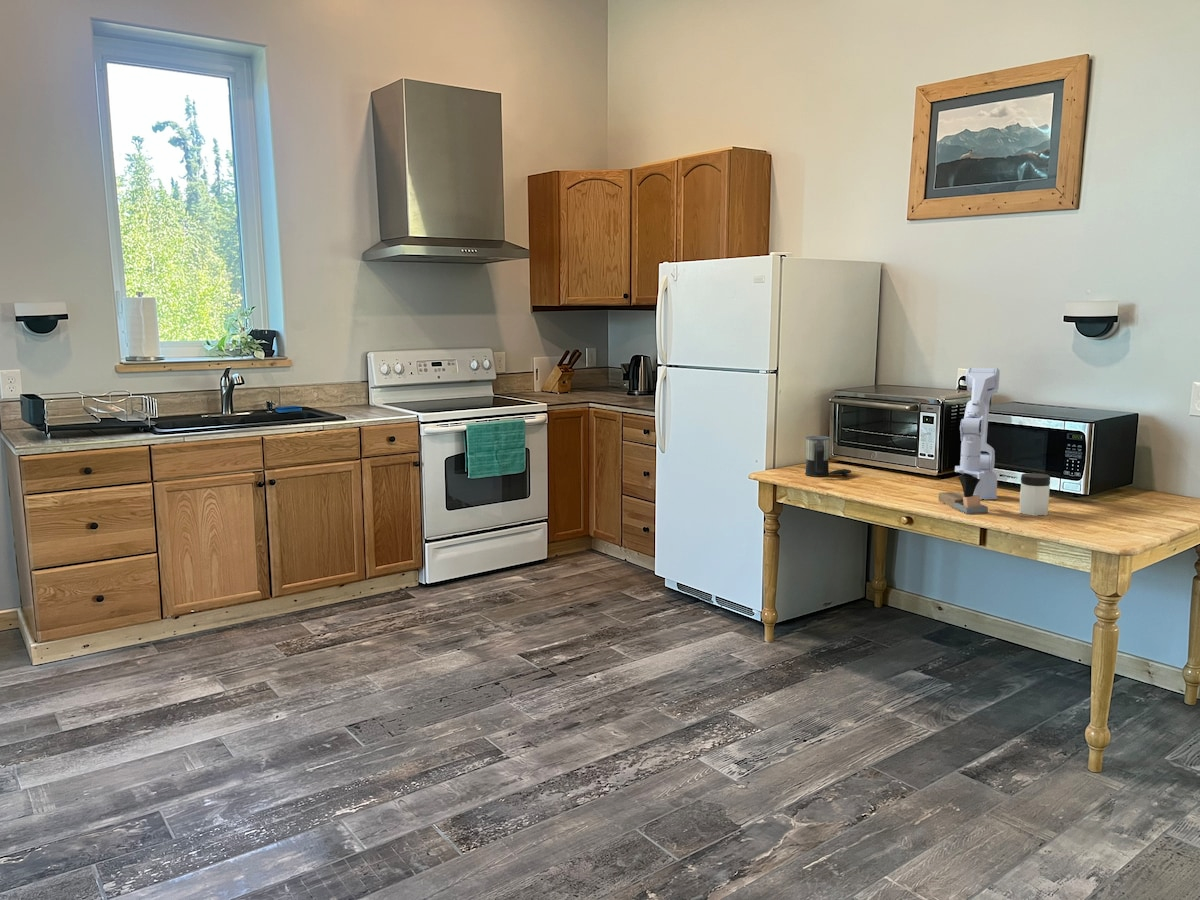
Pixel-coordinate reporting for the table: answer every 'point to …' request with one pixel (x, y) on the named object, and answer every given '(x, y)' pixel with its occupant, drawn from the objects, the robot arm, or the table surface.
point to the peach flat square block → (972, 501)
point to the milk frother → (819, 457)
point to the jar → (1034, 494)
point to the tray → (971, 508)
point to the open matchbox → (951, 498)
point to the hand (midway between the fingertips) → (968, 498)
